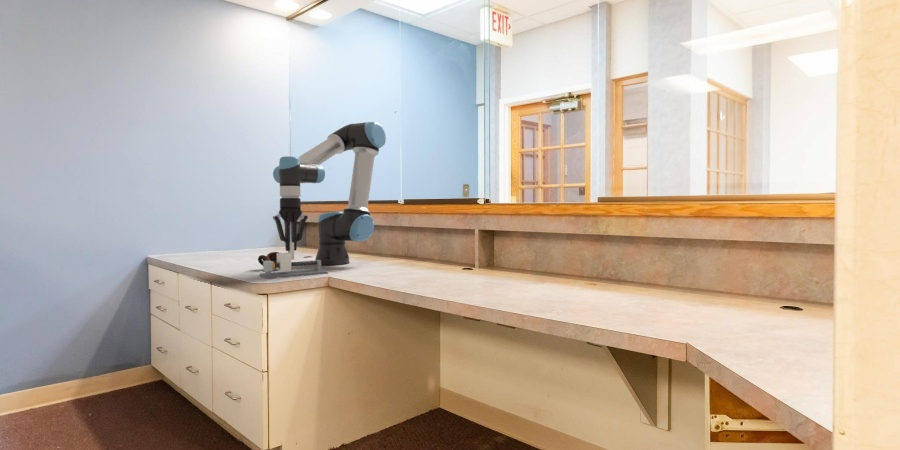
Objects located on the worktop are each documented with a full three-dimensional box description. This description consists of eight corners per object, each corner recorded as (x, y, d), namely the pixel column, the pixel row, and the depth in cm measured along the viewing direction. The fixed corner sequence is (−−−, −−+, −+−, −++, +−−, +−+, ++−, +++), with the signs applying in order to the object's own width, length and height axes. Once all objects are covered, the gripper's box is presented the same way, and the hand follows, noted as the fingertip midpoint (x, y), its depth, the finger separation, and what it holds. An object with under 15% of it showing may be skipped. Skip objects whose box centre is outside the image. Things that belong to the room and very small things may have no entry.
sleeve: (287, 269, 197) (287, 252, 196) (291, 270, 193) (291, 253, 193) (277, 269, 194) (276, 253, 194) (280, 271, 191) (280, 254, 190)
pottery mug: (288, 268, 218) (290, 253, 214) (280, 281, 210) (282, 265, 206) (260, 261, 217) (262, 246, 213) (251, 274, 209) (253, 258, 205)
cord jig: (318, 270, 207) (318, 256, 206) (327, 273, 199) (327, 258, 198) (259, 275, 193) (259, 260, 193) (267, 278, 185) (267, 262, 185)
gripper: (303, 197, 201) (304, 257, 202) (269, 197, 193) (271, 259, 194) (310, 197, 195) (311, 259, 196) (275, 197, 187) (276, 261, 188)
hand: (291, 259), depth 195 cm, fingers closed
